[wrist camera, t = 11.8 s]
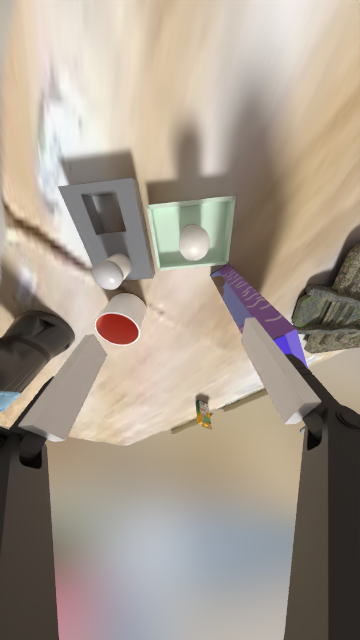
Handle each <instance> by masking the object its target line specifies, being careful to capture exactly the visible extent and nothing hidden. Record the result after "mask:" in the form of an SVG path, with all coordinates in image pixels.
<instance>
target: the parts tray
mask: <svg viewBox="0 0 360 640" xmlns="http://www.w3.org/2000/svg"><path fill="white" fill-rule="evenodd" d="M235 201H236V195H234V196H225V197H216V198H207V199H198V200H189V201H180V202H170V203H161V204H152V205H147V211H148V216H149V222H150V228H151V233H152V239H153V245H154V250H155V256H156V262H157V267H158V271H162V270H173V269H184V268H195V267H206V266H217V265H228V261H229V252H230V244H231V235H232V227H233V218H234V209H235ZM189 223H192V224H195V225H198V226H200V227H202V228H203V229H205V230H206V232H207V233H208V235H209V238H210V246H209V250H208V252H207V253H206V255H205V256H204V257H203V258H201V259H199V260H196V261H191V260H188V259H186V258H185V257H184V256H183V255H182V254H181V252H180V249H179V237H180V232H181V229H182V228H183V227H184V226H185V225H186V224H189Z"/></svg>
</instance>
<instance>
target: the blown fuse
mask: <svg viewBox="0 0 360 640" xmlns="http://www.w3.org/2000/svg"><path fill="white" fill-rule="evenodd" d="M209 246H210V238H209V235H208V233H207V232H206V230H205V229H203V228H202V227H200V226H198V225H195V224H192V223H189V224H186V225H185V226H184V227H183V228H182V229H181V232H180V237H179V249H180V252H181V254H182V255H183V256H184V257H185V258H186V259H188V260H191V261H196V260H199V259H201V258H203V257H204V256H205V255H206V253H207V252H208V250H209Z"/></svg>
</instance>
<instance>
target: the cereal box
mask: <svg viewBox="0 0 360 640" xmlns="http://www.w3.org/2000/svg"><path fill="white" fill-rule="evenodd" d="M210 276H211V278H212V280H213V282H214V283H215V285H216V287H217V289H218V291H219V293H220V295H221V296H222V298H223V300H224V302H225V304H226V306H227V308H228V309H229V311H230V313H231V315H232V317H233V319H234V321H235V322H236V324H237V326H238V328H239V330H240V332H241V334H242V333H243V328H244V323H245V318H253V317H255V318H256V319H257V321H258V322H259V323H260V324H261V326H262V327H263V328H264V330H265V331H266V332H267V333H268V335H269V336H270V337H271V338H272V340H273V341H274V342H275V343H276V345H277V346H278V347H279V348H280V350H281V351H282V352H283V353H284V354H293V355H294V356H296V357H297V358H299V359H300V360H301V361H302V362H303V363H304V364H305V366H306V367H307V364H306V361H305V357H304V354H303V350H302V347H301V343H300V340H299V336H298V333H297V329H296V328H295V327H294V326H293V325H292V324H291V323H290V322H289V321H288V320H286V319H285V318H284V317H283V316H282V315H281V314H280V313H279V312H278V311H277V310H276V309H275V308H274V307H273V306H272V305H271V304H270V303H269V302H268V301H267V300H266V299H265V298H264V297H263V296H261V295H260V294H259V293H258V292H257V291H256V290H255V289H254V288H253V287H252V286H251V285H250V284H249V283H248V282H247V281H246V280H245V279H244V278H243V277H242V276H241V275H240V274H239V273H237V272H236V271H235V270H234V269H233V268H232V267H231V266H230V265H229V264H228V265H225V266H223V267H222V268H220V269H219V270H217V271H216V272H214V273H213V274H211V275H210ZM307 369H308V367H307Z"/></svg>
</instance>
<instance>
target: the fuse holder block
mask: <svg viewBox="0 0 360 640" xmlns="http://www.w3.org/2000/svg"><path fill="white" fill-rule="evenodd" d="M58 188H59V190H60V192H61V195H62V197H63V199H64V201H65V204H66V206H67V208H68V210H69V213H70V215H71V217H72V219H73V222H74V224H75V226H76V228H77V231H78V233H79V235H80V238H81V240H82V242H83V244H84V247H85V249H86V251H87V253H88V256H89V258H90V260H91V262H92V265H93V267H94V268H93V271H92V273H93V278H94V280H95V281H96V282H97V284H98V285H100V286H101V287H103V288H105V289H109V290H113V289H116V288H117V287H119V285H120V284H121V283H122V281H128V280H139V279H150V278H153V277H154V274H155V271H154V266H153V261H152V255H151V250H150V245H149V240H148V235H147V229H146V224H145V219H144V214H143V209H142V204H141V198H140V193H139V188H138V183H137V181H135V180H134V179H133V178H126V179H118V180H109V181H101V182H93V183H84V184H76V185H67V186H59V187H58ZM113 193H116V194H117V198H118V202H119V206H120V209H121V213H122V217H123V221H124V224H125V228H126V231H120V232H110V233H104V232H103V229H102V226H101V223H100V220H99V217H98V215H97V212H96V209H95V206H94V203H93V200H92V197H91V196H96V195H105V194H113Z"/></svg>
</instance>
